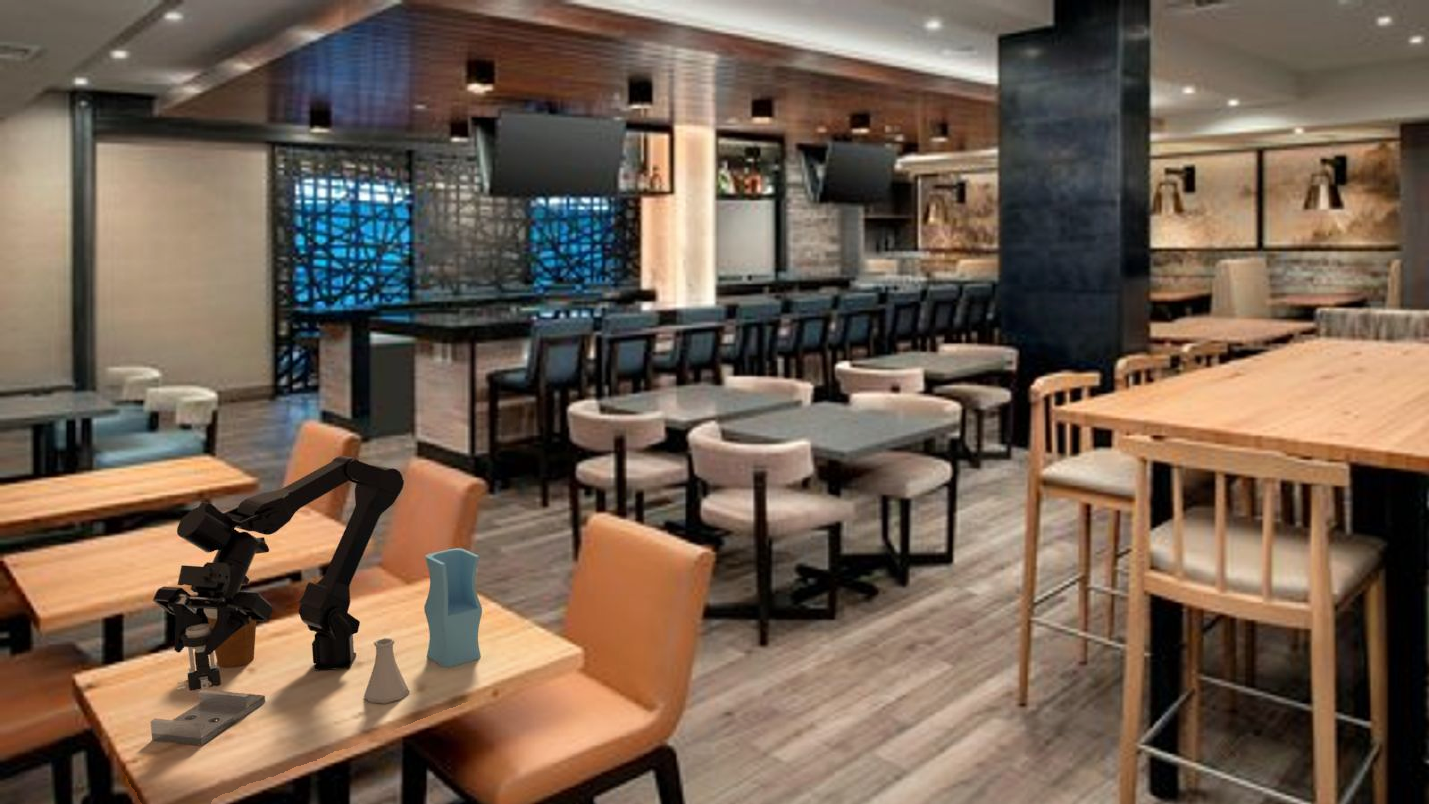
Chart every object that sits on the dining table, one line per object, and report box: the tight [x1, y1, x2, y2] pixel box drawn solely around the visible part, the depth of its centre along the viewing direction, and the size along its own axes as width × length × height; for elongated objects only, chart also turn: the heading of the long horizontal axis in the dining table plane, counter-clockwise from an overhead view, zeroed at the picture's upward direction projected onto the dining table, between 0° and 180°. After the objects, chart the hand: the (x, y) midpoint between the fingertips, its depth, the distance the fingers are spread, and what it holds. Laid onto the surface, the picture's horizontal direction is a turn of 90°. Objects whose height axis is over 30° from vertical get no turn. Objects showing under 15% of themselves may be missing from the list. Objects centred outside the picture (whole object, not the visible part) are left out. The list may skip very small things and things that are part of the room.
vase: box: [423, 547, 483, 668], centre depth 197 cm, size 8×8×20 cm
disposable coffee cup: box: [203, 608, 257, 668], centre depth 196 cm, size 10×10×12 cm
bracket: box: [150, 689, 266, 747], centre depth 172 cm, size 16×9×3 cm, turn 168°
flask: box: [363, 637, 410, 704], centre depth 181 cm, size 7×7×10 cm
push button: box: [176, 623, 222, 692], centre depth 169 cm, size 7×5×10 cm
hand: (191, 652), depth 167 cm, fingers closed on push button, 5 cm apart
